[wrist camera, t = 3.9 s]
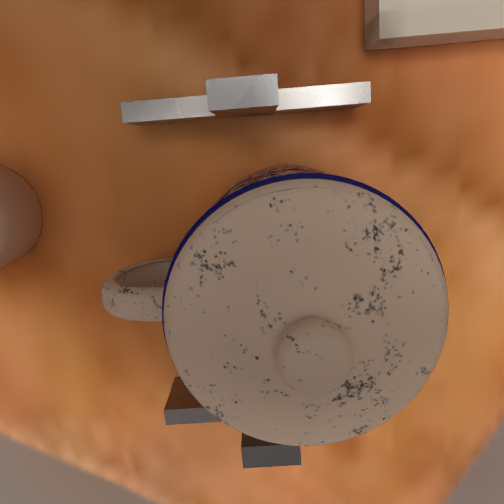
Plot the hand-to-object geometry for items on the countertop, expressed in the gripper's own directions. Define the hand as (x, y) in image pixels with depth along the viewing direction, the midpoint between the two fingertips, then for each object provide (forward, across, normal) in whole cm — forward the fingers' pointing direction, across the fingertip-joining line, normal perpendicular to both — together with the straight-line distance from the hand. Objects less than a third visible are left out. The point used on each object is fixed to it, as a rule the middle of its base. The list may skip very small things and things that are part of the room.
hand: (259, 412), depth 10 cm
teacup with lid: (+13, 0, +1) cm, 13 cm away
